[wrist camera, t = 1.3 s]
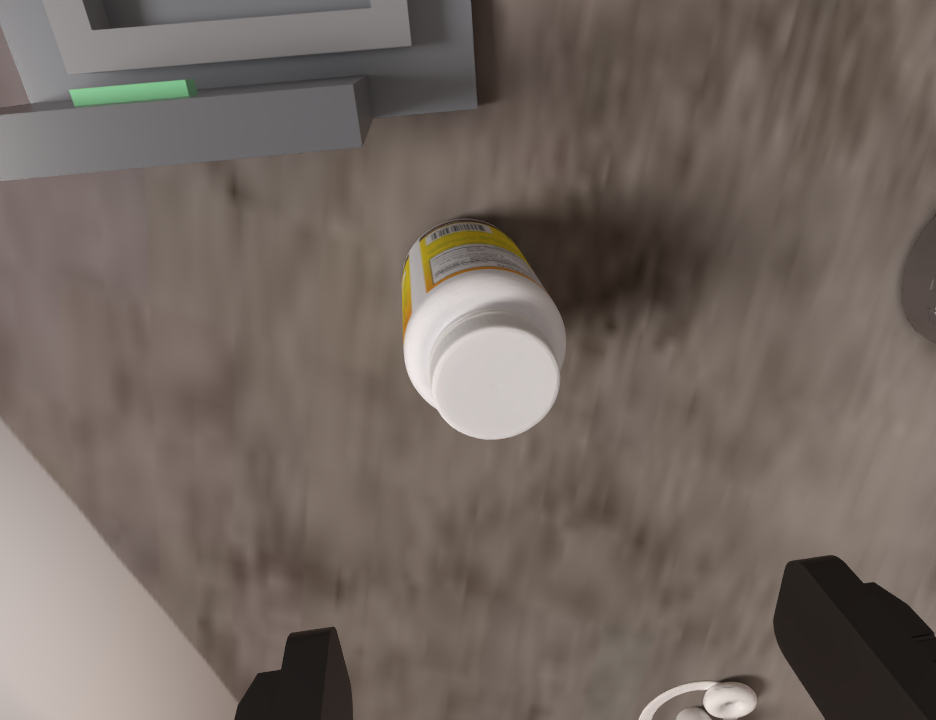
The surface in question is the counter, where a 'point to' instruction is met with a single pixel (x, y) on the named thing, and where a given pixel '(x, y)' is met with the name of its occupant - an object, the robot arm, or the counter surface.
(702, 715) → the teacup and saucer
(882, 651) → the robot arm
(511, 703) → the counter surface
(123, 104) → the charging dock
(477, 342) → the supplement bottle
